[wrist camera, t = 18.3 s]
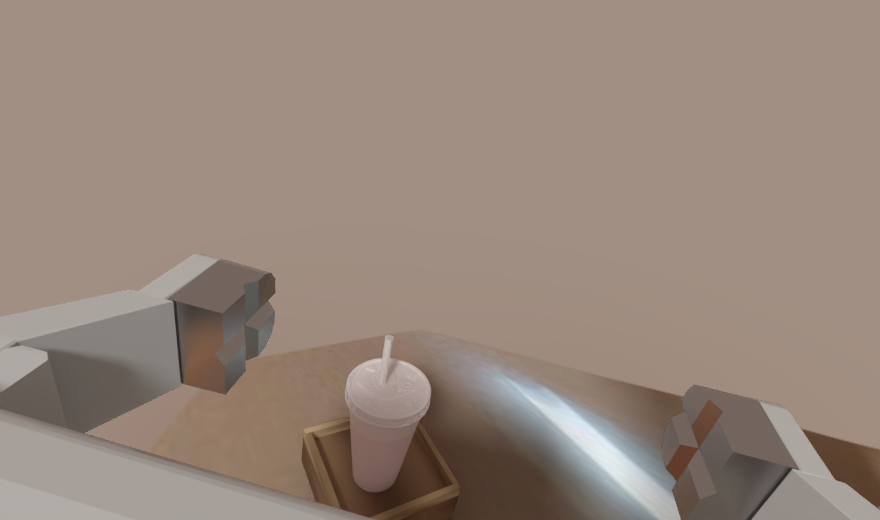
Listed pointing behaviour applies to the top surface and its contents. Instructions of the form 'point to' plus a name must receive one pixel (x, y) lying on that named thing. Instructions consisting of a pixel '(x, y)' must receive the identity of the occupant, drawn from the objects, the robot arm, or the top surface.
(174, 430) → the top surface
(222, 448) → the top surface
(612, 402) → the top surface
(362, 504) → the wooden tray
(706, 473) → the robot arm
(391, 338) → the smoothie
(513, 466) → the top surface
